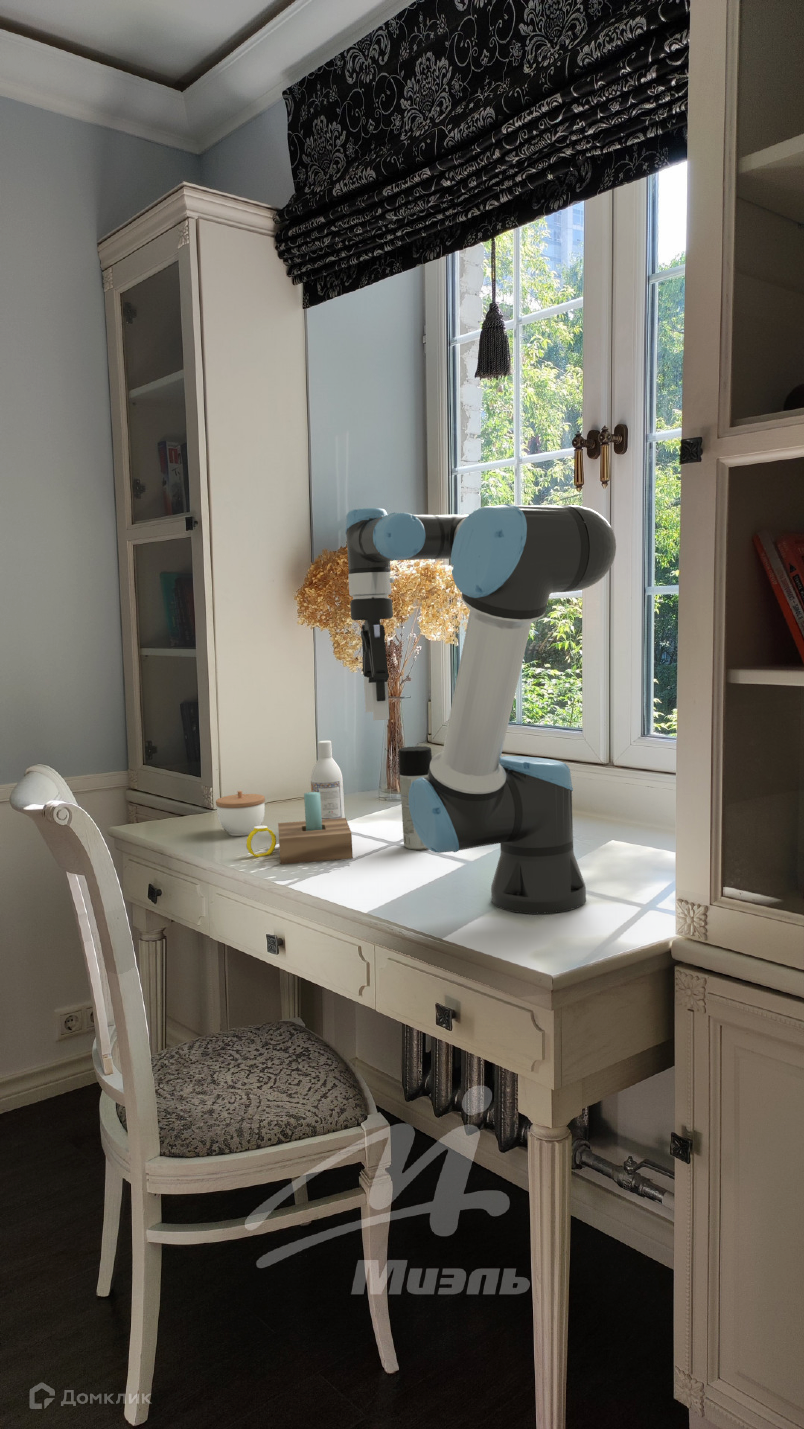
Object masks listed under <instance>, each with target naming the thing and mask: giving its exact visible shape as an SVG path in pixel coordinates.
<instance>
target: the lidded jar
mask: <svg viewBox="0 0 804 1429" xmlns="http://www.w3.org/2000/svg"><path fill="white" fill-rule="evenodd" d="M236 793H237V794H230V795H226V796H221V797H220V798H217V799H216V800H215V805H216V806H215V807H216V813H217V814H216V815H217V819H218V821H219V824H220V826H221V827H222V828H223V830H225V832H227V833H228V835H229V836H233V837H240V836H241V837H242V836H249V834H250V833H251V832H252V831H253V830H254V827H255V826H262V824H263V823H264V820H265V815H266V806H265V805H266V804H265V802H266V798H265V796H264V795H262V794H257V793H243V790H238V791H237V792H236Z"/></svg>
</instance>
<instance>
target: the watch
mask: <svg viewBox="0 0 804 1429" xmlns="http://www.w3.org/2000/svg"><path fill="white" fill-rule="evenodd" d="M268 827H269V826H268V825H261V826H255V827H254V830H253V831H252V832H251V833H250V834H249V835H247V839H246V849H247V851H248V853H249V854H250V855H251V856H253V857H256V858H261V857H266V856H271V855H272V853H273V852H274V851H275V849H276V846H277V838H276V836H277V835H275V833H274V831H272V830H271V829H270V828H268ZM261 832H268V833H269V835H270V838H271V844H270V847H269V849H268V850H267V851H265V852H261V853H255V852H254V851H253V849H252V840H253V838H254V836H255V835H256V834H257V833H261Z"/></svg>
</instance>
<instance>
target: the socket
mask: <svg viewBox="0 0 804 1429" xmlns="http://www.w3.org/2000/svg"><path fill="white" fill-rule="evenodd" d="M277 826H278V828H277V831H278V843H279V844H278V846H279V847H278V848H279V862H280V865H285V864H287V865H288V864H296V863H309V862H321V861H332V860H333V861H334V860H335V859H336V860H345V859H346V860H348V859H354V854H353V839H352V838H353V835H352V831H351V828H350V825H349V822H348V819H347V817H345V818H338V819H325V820H322V830H313V831H306V820H299V821H289V822H288V821H287V822H278V823H277Z"/></svg>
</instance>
